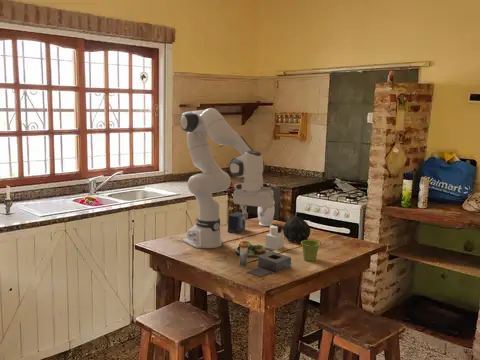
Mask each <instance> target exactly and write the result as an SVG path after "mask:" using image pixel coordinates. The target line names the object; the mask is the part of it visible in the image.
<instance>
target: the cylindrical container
mask: <svg viewBox="0 0 480 360" xmlns="http://www.w3.org/2000/svg"><path fill="white" fill-rule="evenodd" d="M246 241H247V240H242V241H240V242H239V244H240V256H239V266H241V267H246V266H248V257H247V252H248V242H249V241H248V242H246Z"/></svg>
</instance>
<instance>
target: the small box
mask: <svg viewBox="0 0 480 360" xmlns="http://www.w3.org/2000/svg"><path fill="white" fill-rule="evenodd" d="M246 215H247V214H242V211H235V212H233V213H229V214H228V218H227V233H231V234H238V233H241V232H244V231H245V230H246V218H247V217H246Z"/></svg>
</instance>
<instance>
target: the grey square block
mask: <svg viewBox="0 0 480 360" xmlns="http://www.w3.org/2000/svg"><path fill="white" fill-rule="evenodd" d="M261 255H262V254H261ZM257 268H262V269H265V270H268V271H270V272H272V273H274V274H277V273H280V272H283V271H285V270H288V269H290V268H292V257H291V256H289V255H285V254H282V253H279V252H275V251H271V252H269V253H268V254H265V255H262V256H259V257H257Z"/></svg>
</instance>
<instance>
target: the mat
mask: <svg viewBox="0 0 480 360" xmlns="http://www.w3.org/2000/svg"><path fill="white" fill-rule="evenodd" d="M246 273H248V274H251V275H253V276H256V277H259V278H262V277H265V276H268V275H270V274H272V273H273V272H271V271H268V270H265V269H262V268H260V267H256V268H253V269H251V270H248V271H246Z"/></svg>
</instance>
